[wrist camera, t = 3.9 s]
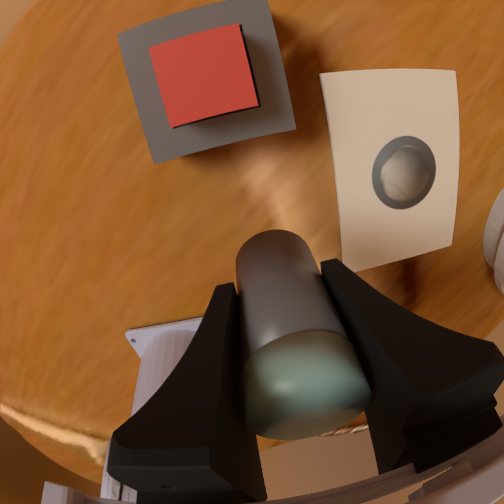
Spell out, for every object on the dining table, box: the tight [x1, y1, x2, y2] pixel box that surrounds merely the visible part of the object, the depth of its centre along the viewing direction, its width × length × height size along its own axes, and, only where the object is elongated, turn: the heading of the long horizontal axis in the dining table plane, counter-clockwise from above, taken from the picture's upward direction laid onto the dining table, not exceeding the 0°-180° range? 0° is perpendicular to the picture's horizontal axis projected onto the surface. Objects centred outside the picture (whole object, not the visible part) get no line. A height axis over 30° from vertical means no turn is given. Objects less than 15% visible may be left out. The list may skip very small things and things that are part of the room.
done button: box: [149, 23, 258, 128], centre depth 11 cm, size 4×4×2 cm
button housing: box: [117, 0, 296, 164], centre depth 13 cm, size 7×7×3 cm
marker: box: [236, 230, 372, 440], centre depth 10 cm, size 3×3×7 cm
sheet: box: [319, 69, 459, 272], centre depth 18 cm, size 14×10×1 cm
